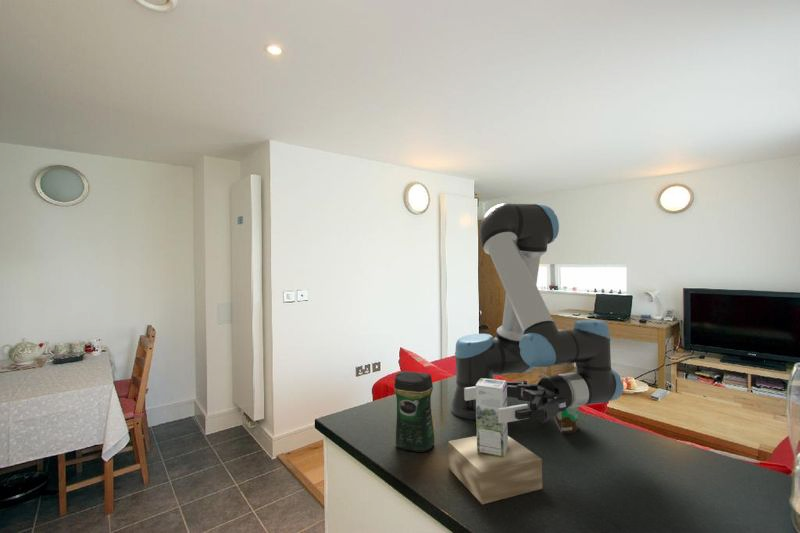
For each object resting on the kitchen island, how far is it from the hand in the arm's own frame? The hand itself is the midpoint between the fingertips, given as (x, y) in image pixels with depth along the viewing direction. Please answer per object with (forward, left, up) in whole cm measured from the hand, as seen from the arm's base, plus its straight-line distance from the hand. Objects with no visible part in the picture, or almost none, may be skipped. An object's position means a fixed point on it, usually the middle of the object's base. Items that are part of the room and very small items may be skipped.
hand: (480, 404), depth 79 cm
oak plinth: (0, +3, -16) cm, 16 cm away
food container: (-14, +37, -16) cm, 42 cm away
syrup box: (0, +3, -10) cm, 11 cm away
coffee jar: (-20, -7, -16) cm, 27 cm away
